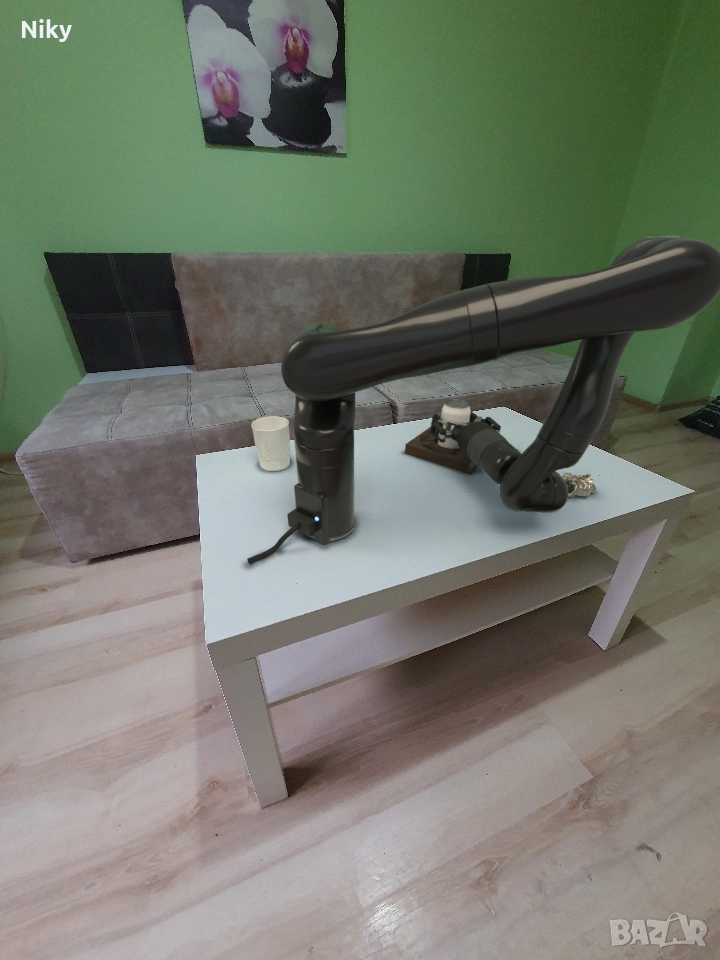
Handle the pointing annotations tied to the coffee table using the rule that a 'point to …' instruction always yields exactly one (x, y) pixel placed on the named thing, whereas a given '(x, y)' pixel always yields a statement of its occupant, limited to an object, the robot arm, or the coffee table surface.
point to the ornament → (579, 484)
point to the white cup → (272, 442)
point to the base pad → (438, 452)
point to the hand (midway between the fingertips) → (451, 416)
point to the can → (454, 418)
